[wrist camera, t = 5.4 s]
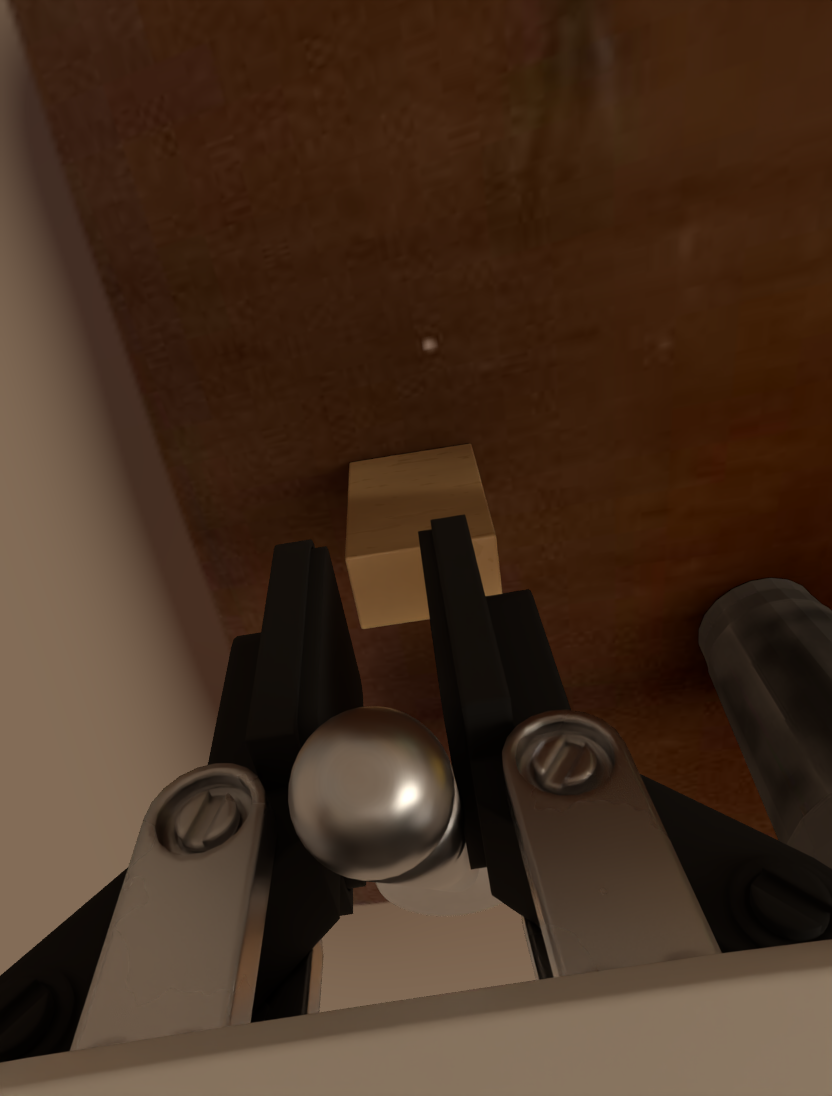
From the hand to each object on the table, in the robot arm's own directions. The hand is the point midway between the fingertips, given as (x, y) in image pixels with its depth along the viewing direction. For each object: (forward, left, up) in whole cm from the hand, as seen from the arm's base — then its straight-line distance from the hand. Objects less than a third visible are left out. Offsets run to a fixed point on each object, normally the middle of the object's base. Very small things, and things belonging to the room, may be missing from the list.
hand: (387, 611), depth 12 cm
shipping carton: (+3, -4, -13) cm, 14 cm away
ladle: (+3, -5, -6) cm, 9 cm away
